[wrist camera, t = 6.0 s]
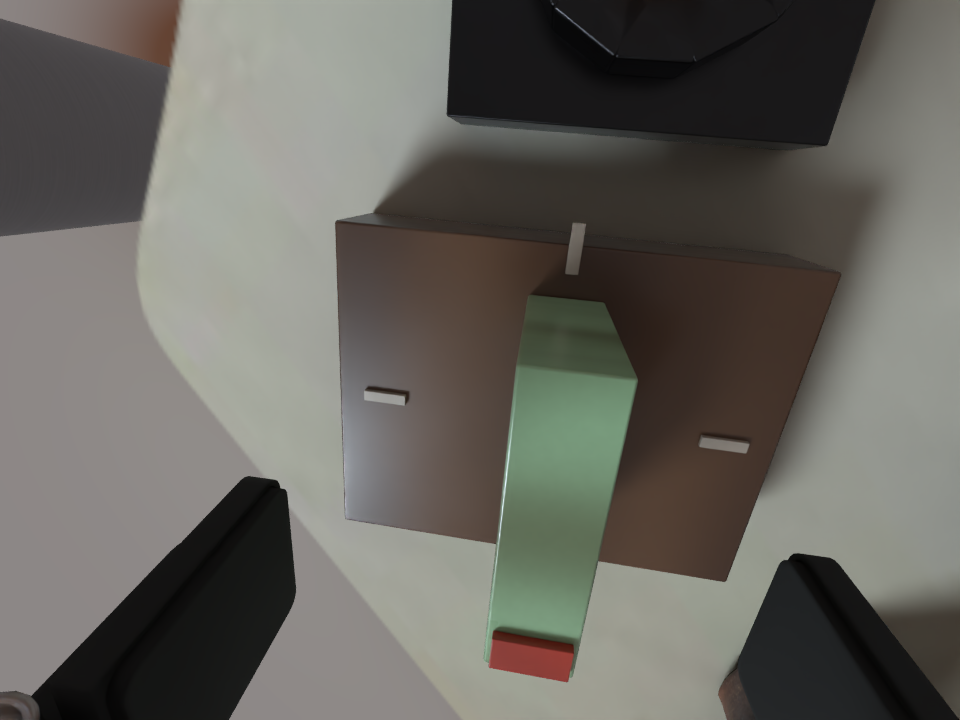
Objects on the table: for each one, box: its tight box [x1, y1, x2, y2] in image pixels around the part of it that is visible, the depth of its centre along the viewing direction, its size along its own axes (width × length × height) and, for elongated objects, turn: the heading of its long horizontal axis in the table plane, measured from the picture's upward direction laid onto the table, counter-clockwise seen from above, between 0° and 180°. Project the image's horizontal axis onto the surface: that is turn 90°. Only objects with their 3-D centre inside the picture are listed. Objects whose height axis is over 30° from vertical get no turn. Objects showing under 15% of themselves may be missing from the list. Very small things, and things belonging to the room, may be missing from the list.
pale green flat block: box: [484, 295, 638, 682], centre depth 12 cm, size 8×2×6 cm, turn 175°
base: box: [335, 213, 841, 582], centre depth 16 cm, size 14×12×3 cm
